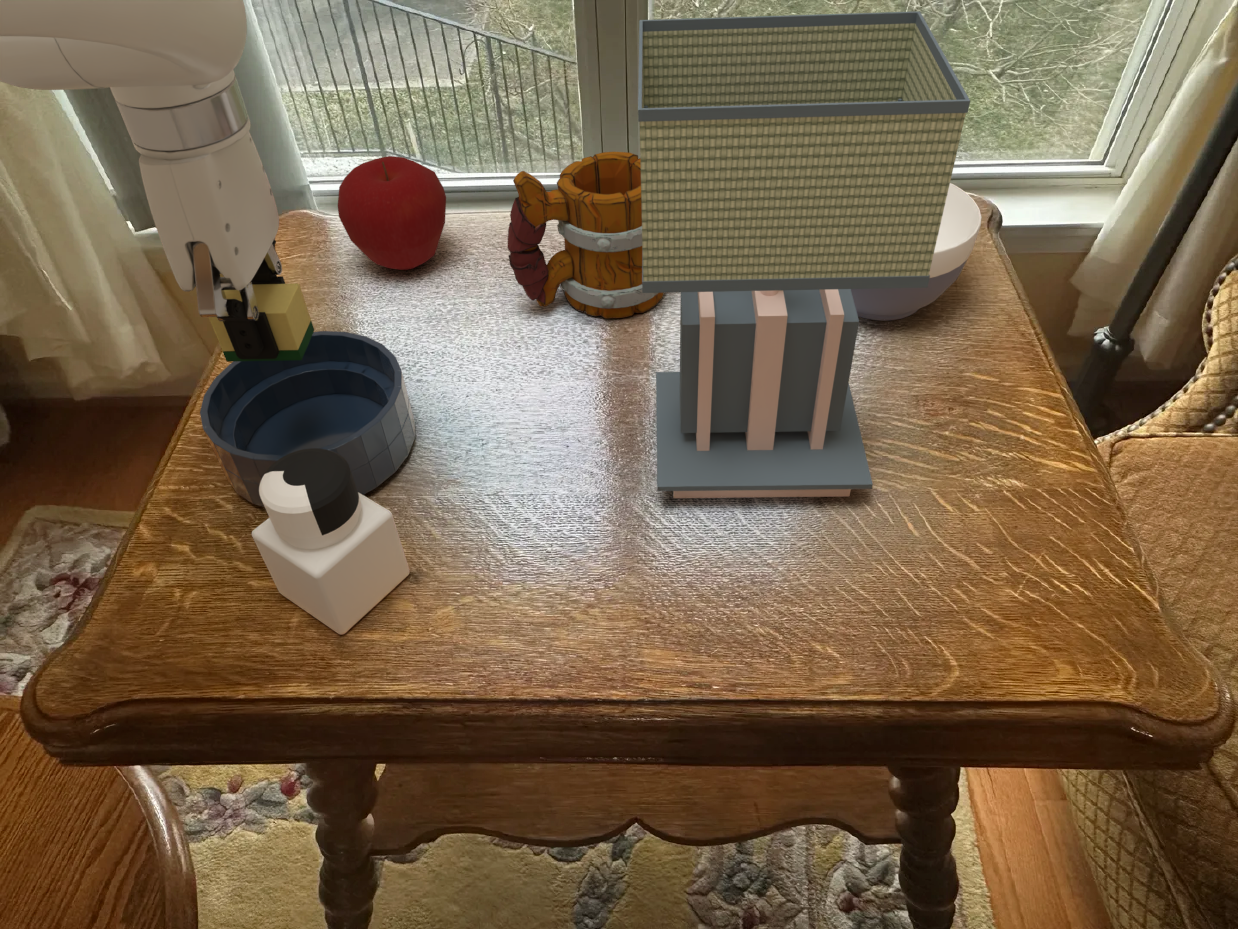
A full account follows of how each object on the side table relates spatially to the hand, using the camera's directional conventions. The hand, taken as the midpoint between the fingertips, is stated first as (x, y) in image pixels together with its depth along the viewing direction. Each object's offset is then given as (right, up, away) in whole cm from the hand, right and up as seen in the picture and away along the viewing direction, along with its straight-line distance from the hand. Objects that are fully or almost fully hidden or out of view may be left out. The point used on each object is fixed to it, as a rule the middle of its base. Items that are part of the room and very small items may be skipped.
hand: (267, 336), depth 74 cm
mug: (+25, +7, +22) cm, 34 cm away
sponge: (0, -1, +1) cm, 1 cm away
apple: (+5, +12, +28) cm, 31 cm away
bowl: (+54, +7, +21) cm, 58 cm away
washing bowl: (+2, -9, +7) cm, 12 cm away
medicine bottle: (+7, -19, -3) cm, 21 cm away
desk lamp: (+39, -9, +6) cm, 41 cm away
